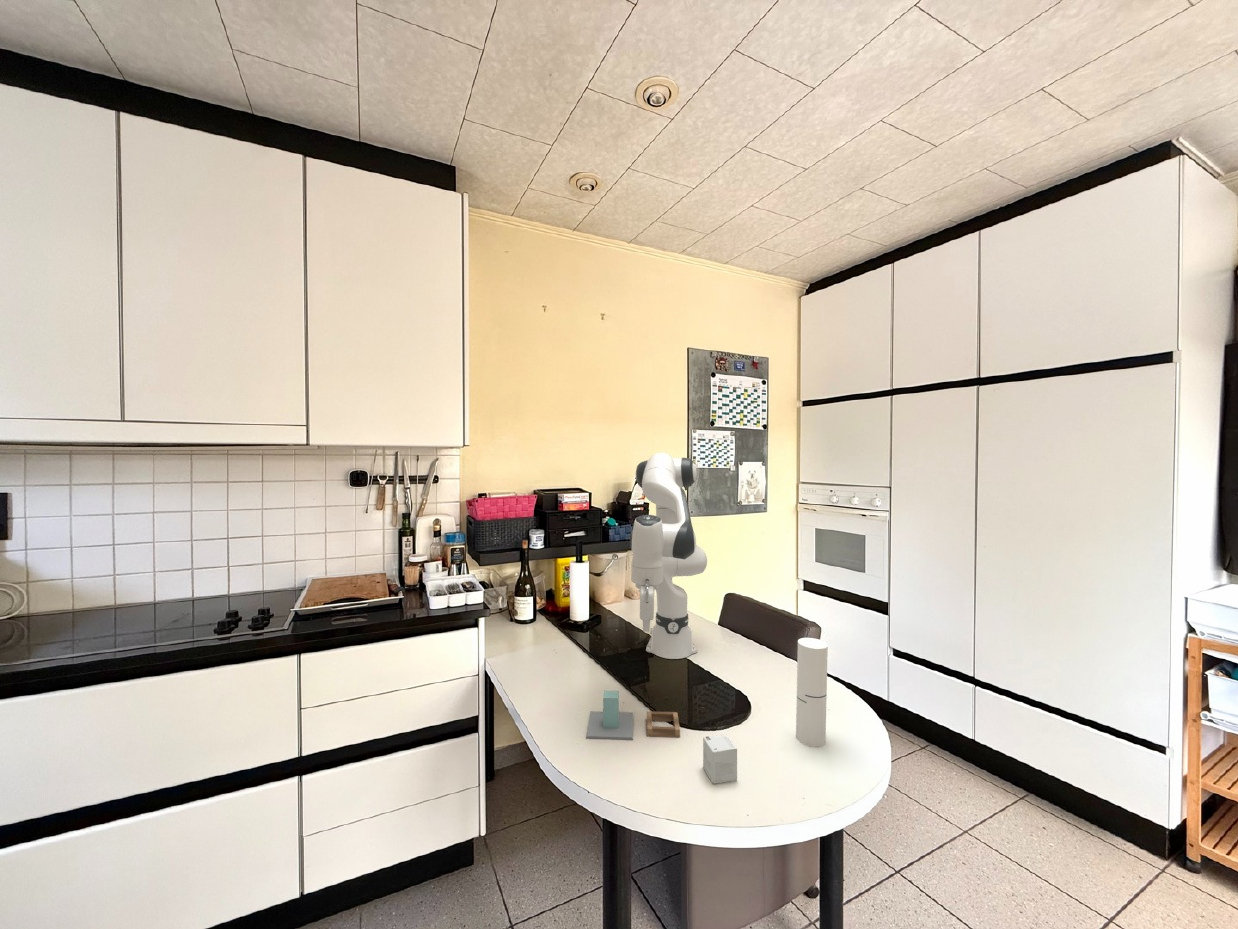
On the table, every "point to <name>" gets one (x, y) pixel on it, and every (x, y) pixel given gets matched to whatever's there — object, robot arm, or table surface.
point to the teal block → (610, 709)
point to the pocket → (659, 730)
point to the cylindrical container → (811, 692)
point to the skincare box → (719, 758)
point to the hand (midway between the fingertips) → (646, 623)
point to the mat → (621, 733)
